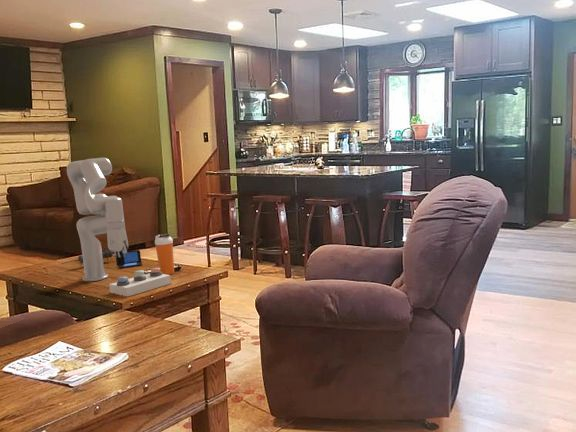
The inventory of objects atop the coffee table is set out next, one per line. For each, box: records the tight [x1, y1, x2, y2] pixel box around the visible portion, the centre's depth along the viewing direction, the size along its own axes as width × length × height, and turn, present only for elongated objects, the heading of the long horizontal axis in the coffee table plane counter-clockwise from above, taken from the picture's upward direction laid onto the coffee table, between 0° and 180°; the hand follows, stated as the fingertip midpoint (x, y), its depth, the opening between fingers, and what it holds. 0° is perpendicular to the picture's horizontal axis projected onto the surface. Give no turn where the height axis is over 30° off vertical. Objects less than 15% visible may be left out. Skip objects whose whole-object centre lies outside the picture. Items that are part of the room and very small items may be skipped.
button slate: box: [117, 275, 129, 282], centre depth 274 cm, size 4×4×2 cm
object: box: [117, 249, 143, 270], centre depth 333 cm, size 12×11×7 cm
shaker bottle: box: [154, 233, 175, 276], centre depth 305 cm, size 9×9×20 cm
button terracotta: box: [150, 267, 160, 273], centre depth 287 cm, size 4×4×2 cm
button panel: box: [108, 271, 172, 297], centre depth 281 cm, size 14×24×5 cm, turn 138°
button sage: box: [134, 269, 145, 277], centre depth 280 cm, size 4×4×2 cm
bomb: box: [60, 245, 116, 266], centre depth 340 cm, size 11×10×30 cm
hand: (120, 265), depth 273 cm, fingers closed
